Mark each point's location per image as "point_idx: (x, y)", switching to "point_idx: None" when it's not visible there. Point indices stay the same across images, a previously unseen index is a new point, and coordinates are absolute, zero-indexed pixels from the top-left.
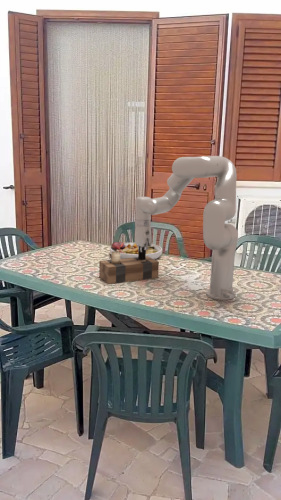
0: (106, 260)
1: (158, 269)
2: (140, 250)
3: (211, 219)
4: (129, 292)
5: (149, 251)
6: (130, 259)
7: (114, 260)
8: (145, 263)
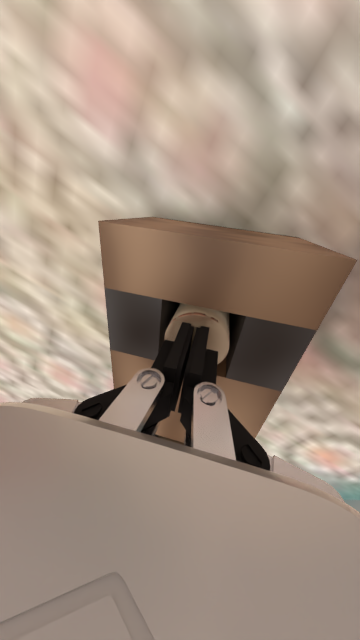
0: None
1: (320, 246)
2: (189, 439)
3: None
4: (342, 441)
5: None
6: None
7: None
8: (288, 378)
